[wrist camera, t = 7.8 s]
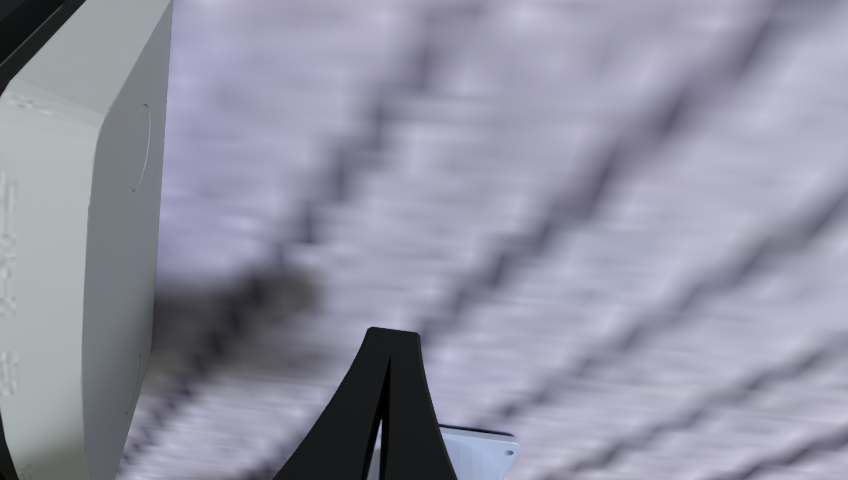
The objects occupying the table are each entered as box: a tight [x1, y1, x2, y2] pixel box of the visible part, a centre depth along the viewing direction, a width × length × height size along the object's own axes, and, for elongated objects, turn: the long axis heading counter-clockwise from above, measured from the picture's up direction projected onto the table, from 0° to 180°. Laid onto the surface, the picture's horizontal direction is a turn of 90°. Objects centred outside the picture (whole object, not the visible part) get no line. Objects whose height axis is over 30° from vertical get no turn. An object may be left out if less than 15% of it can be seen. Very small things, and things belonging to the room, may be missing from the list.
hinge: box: [0, 0, 173, 480], centre depth 11 cm, size 17×5×10 cm, turn 156°
